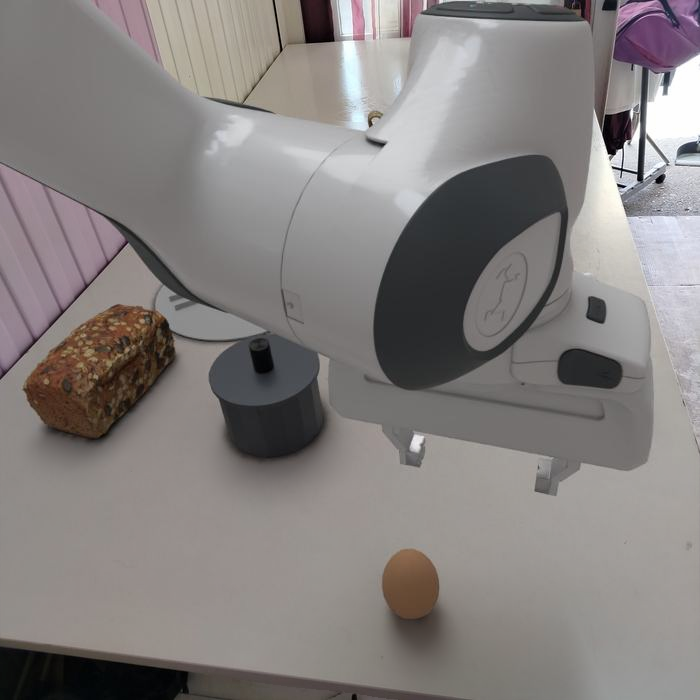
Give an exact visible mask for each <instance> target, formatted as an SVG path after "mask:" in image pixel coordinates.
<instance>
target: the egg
mask: <svg viewBox="0 0 700 700" xmlns="http://www.w3.org/2000/svg"><path fill="white" fill-rule="evenodd" d="M381 590H382V594H383V595H382V596H383V597H384V600H385V602H386V604H387V606H388V607H389V608H390V610H391V611H392V612H393V613H394V614H396V615H397V616H399V617H401V618H402V619H408V620H417V619H421V618H423V617H425V616H426V615H428V614H429V613H430V612H431V611H432V610H433V608H434V607H435V606H436V603H437V601H438V598H439V596H440V579H439V575H438V572H437V568H436V566H435V565H434V563H433V561H432V560H431V559H430V558H429V557H428V556H427V554H425V553H424V552H422V551H420V550H418V549H415V548H404V549H400V550H398V551H397V552H396V553H394V554H393V555H392V556H391V557H390V558H389V560H388V561H387V563H386V564H385V566H384V568H383V572H382V577H381Z"/></svg>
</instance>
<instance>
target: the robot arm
mask: <svg viewBox="0 0 700 700" xmlns="http://www.w3.org/2000/svg"><path fill="white" fill-rule="evenodd" d="M412 26H413V27H412V30H411V36H410V43H409V48H408V49H409V50H408V58H407V69H406V80H405V82H404V84H403V86H402V88H401V90H400V91H399V93H398V95H397V96H396V97H395V99H394V100H393V102H392V103H391V105H390V107H389V108H388V109H387V110H386V112H385V113H383V116H382V117H381V118H380V119H379V118H378V120H377V121H375V122H374V123H373V125H372V126H371V127H370V128H369V127H368V128H367V129H366V130H361V129H356V128H351V127H345V126H341V125H335V124H331V123H325V122H320V121H315V120H309V119H303V118H299V117H294V116H289V115H283V114H278V113H276V112H274V111H271V110H269V109H265V108H261V107H257V106H253V105H249V104H245V103H241V102H237V101H233V100H229V99H223V98H217V97H216V98H215V97H209V96H202V95H199V94H198V93H195V92H194V91H192V90H190V89H189V88H187V87H186V86H184V85H183V84H182V83H181V82H179V81H178V79H176V77H174V76H173V75H172V74H171V73H170V72H169V71H168V70H166V68H164V67H163V66H162V65H161V64H160V63H159V62H158V61H157V60H156V59H154V57H152V56H151V55H150V54H149V53H148V52H147V51H146V50H145V49H144V48H143V47H142V46H141V45H140V44H138V43H137V42H136V41H135V40H134V39H133V37H131V36H130V35H129V34H127V33H126V32H125V31H124V30H123V29H122V28H121V27H120V26H119V25H118V24H116V23H115V22H114V21H113V20H112V19H111V18H110V17H109V16H108V15H107V14H106V13H104V11H103V10H102V9H101V8H99V6H97V5H96V4H95V3H94V2H93V1H92V0H0V164H1V165H3V166H5V167H7V168H9V169H11V170H13V171H14V172H17V173H19V174H21V175H23V176H25V177H27V178H29V179H31V180H33V181H34V182H36V183H38V184H41V185H42V186H45V187H46V188H49V189H51V190H52V191H54V192H56V193H59V194H60V195H62V196H64V197H66V198H68V199H71V200H72V201H74V202H75V203H78V204H80V205H82V206H84V207H86V208H87V209H89V210H92V211H93V212H95V213H97V214H98V215H100V216H102V217H103V218H104V219H106V220H107V222H108V223H110V224H111V225H112V226H113V227H114V228H115V230H117V232H119V233H120V235H121V236H122V237H123V238H124V239H125V240H126V242H127V243H128V244H129V245H130V247H131V248H132V250H133V251H134V252H135V254H136V255H137V256H138V258H140V260H141V261H142V262H143V264H144V265H145V266H146V268H147V269H148V270H149V271H150V273H152V274H153V275H154V277H155V278H156V279H157V280H158V281H159V282H160V283H161V284H162V285H165V286H166V287H167V288H168V289H170V290H171V291H173V292H174V293H176V294H177V295H179V296H181V297H183V298H185V299H188V300H191V301H193V302H196V303H199V304H202V305H205V306H208V307H211V308H213V309H216V310H219V311H222V312H225V313H230V314H232V315H234V316H237V317H239V318H241V319H243V320H245V321H248V322H250V323H252V324H254V325H256V326H259V327H261V328H263V329H265V330H267V331H270V332H269V333H271V334H276V335H278V336H281V337H283V338H285V339H287V340H290V341H292V342H294V343H296V344H298V345H301V346H303V347H305V348H307V349H309V350H312V351H314V352H316V353H317V354H318V355H321V356H323V357H325V358H327V359H329V362H328V379H327V380H328V381H327V383H328V399H329V405H330V406H331V407H332V408H333V410H335V412H336V413H337V414H338V415H339V416H340V417H341V418H344V419H347V420H353V421H359V422H364V423H369V424H374V425H380V426H381V432H382V434H384V436H385V437H386V438H387V439H388V440H389V442H390V443H391V444H392V445H393V446H394V447H395V448H396V450H398V453H399V454H398V456H399V465H403V466H409V467H414V468H419V469H420V468H421V467H422V462H423V460H424V459H425V454H426V446H425V445H426V436H425V435H422V434H427V435H432V436H438V437H444V438H448V439H454V440H459V441H464V442H469V443H473V444H480V445H484V446H485V445H486V446H491V447H496V448H500V449H507V450H512V451H517V452H521V453H522V452H523V453H527V454H533V455H537V456H544V457H547V458H551V459H547V458H542V457H539V458H538V464H537V469H536V470H537V471H536V477H535V482H534V483H535V484H534V490H533V492H535V493H539V494H544V495H549V496H553V497H557V495H558V489H559V483H562V482H564V480H566V479H568V478H569V477H571V476H572V475H574V474H576V473H577V472H578V471H580V470H581V465H582V464H587V465H591V466H596V467H602V468H608V469H613V470H618V471H621V472H631V471H633V470H636V469H638V468H640V467H642V466H643V465H645V464H647V463H648V461H649V458H650V454H651V449H652V443H653V438H654V437H653V436H654V416H655V415H654V413H655V412H654V410H655V408H654V407H655V400H654V399H655V389H654V386H655V385H654V368H653V366H654V365H653V359H652V356H651V350H652V330H651V322H650V316H649V311H648V307H647V304H646V302H645V300H644V299H643V298H641V297H640V296H638V295H636V294H634V293H631V292H629V291H626V290H623V289H621V288H618V287H615V286H613V285H610V284H607V283H605V282H602V281H600V280H599V281H597V280H595V279H592V278H590V277H588V276H585V275H583V274H584V273H580V272H578V271H576V270H575V268H574V265H575V264H574V257H573V253H572V249H571V236H572V232H573V230H574V226H575V224H576V222H577V221H578V219H579V216H580V214H581V211H582V209H583V206H584V203H585V200H586V194H587V193H586V192H587V186H588V180H589V179H588V178H589V173H590V172H589V171H590V162H591V154H592V143H593V132H594V116H595V91H596V90H595V87H596V86H595V85H596V83H595V78H596V77H595V76H596V75H595V73H596V72H595V51H594V39H593V33H592V28H591V24H590V23H589V21H588V20H587V19H585V18H584V17H582V16H580V15H579V14H577V12H576V11H574V10H572V9H570V8H568V7H566V6H561V5H557V4H547V3H545V4H544V3H542V4H541V3H540V4H538V3H526V2H525V3H523V2H522V3H521V2H504V1H503V2H501V1H497V2H495V1H479V0H452V1H445V2H440V3H436V4H433V5H430V7H428V8H426V9H424V10H422V11H421V12H419V13H418V14H417V15H416V16H415V19H414V22H413V25H412ZM415 432H417V434H416V433H415ZM418 433H422V434H418Z"/></svg>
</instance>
